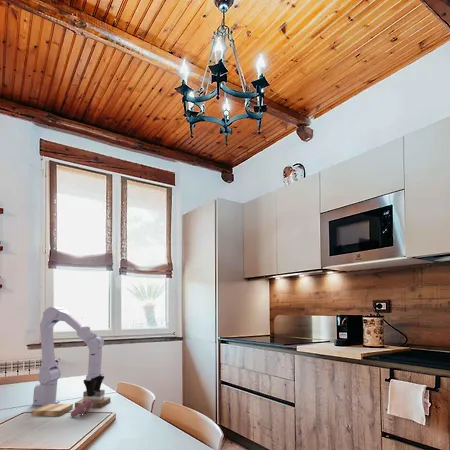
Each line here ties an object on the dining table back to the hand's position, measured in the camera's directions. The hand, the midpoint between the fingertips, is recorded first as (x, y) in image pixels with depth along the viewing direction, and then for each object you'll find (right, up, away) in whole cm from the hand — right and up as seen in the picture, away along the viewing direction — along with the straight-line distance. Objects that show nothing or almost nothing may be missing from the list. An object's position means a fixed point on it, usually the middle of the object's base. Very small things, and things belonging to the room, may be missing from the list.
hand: (93, 394), depth 190 cm
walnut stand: (0, -4, -1) cm, 4 cm away
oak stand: (-13, -2, -14) cm, 19 cm away
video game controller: (+1, -1, -18) cm, 18 cm away
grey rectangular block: (0, -2, 0) cm, 2 cm away
